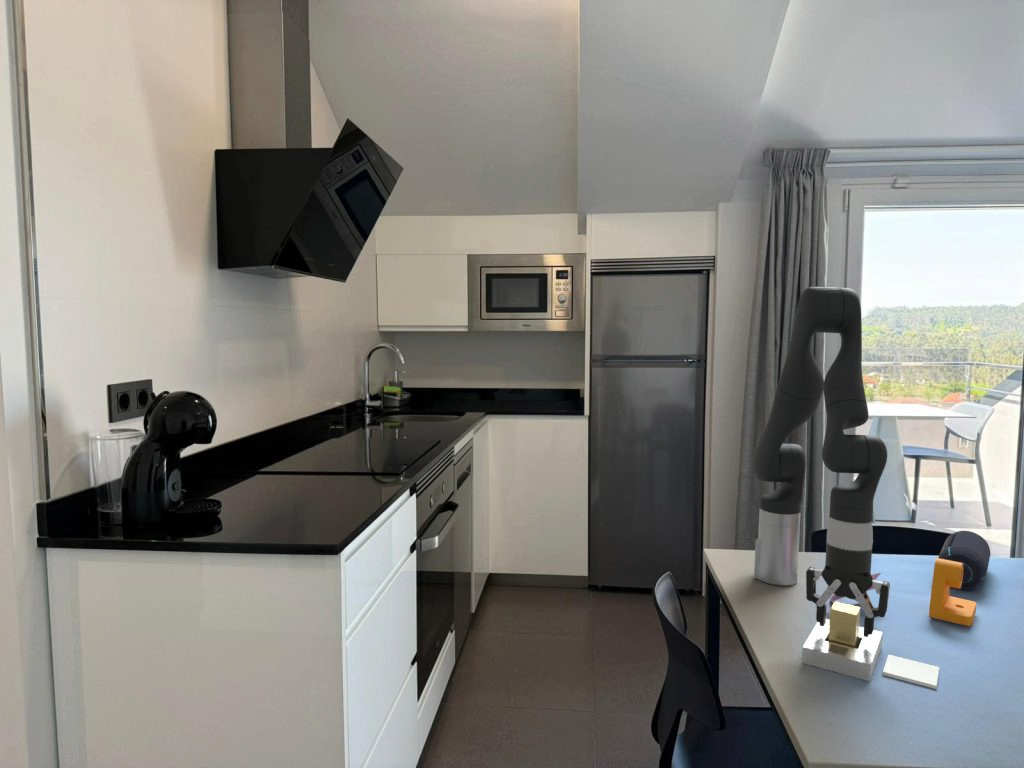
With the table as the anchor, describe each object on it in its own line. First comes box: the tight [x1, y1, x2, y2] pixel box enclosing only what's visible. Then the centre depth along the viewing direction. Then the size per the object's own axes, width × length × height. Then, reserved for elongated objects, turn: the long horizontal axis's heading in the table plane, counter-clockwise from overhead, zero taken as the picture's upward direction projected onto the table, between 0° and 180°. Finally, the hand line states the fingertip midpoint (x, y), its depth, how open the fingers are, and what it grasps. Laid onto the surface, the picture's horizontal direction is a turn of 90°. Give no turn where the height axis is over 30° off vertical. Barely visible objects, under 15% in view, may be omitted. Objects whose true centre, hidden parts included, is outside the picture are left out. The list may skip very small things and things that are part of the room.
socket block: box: [801, 618, 884, 683], centre depth 126 cm, size 11×16×3 cm
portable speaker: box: [937, 530, 991, 590], centre depth 168 cm, size 25×10×10 cm, turn 143°
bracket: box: [928, 557, 977, 627], centre depth 144 cm, size 11×7×12 cm, turn 140°
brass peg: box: [829, 601, 861, 649], centre depth 126 cm, size 4×4×9 cm
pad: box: [882, 653, 940, 690], centre depth 120 cm, size 8×8×1 cm
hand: (844, 629), depth 126 cm, fingers open, 7 cm apart
